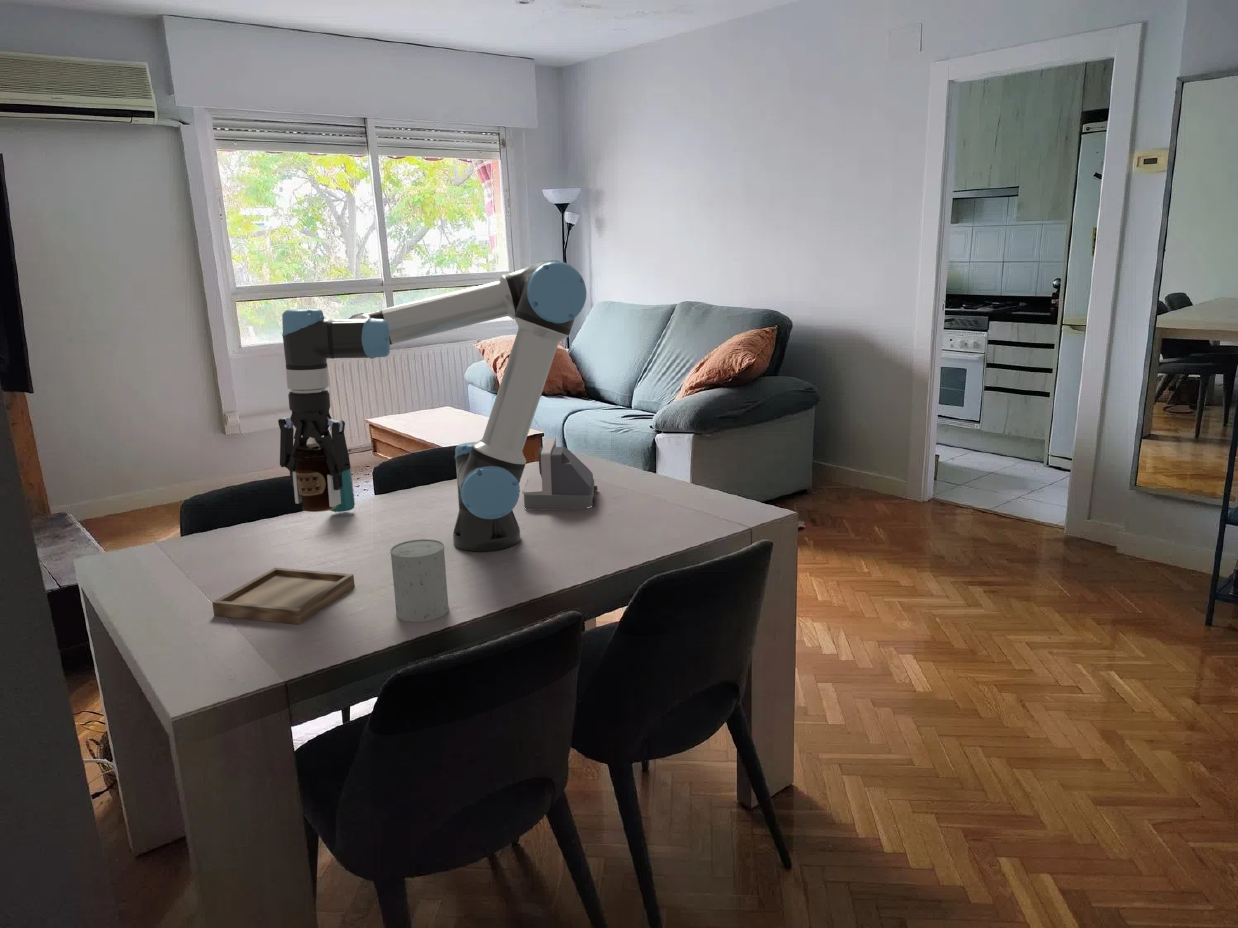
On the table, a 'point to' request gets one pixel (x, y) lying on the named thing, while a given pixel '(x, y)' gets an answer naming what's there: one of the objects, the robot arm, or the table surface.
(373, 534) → the table surface
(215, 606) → the tray
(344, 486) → the beverage bottle
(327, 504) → the coffee cup
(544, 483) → the instant camera
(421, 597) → the white speckled cylinder
